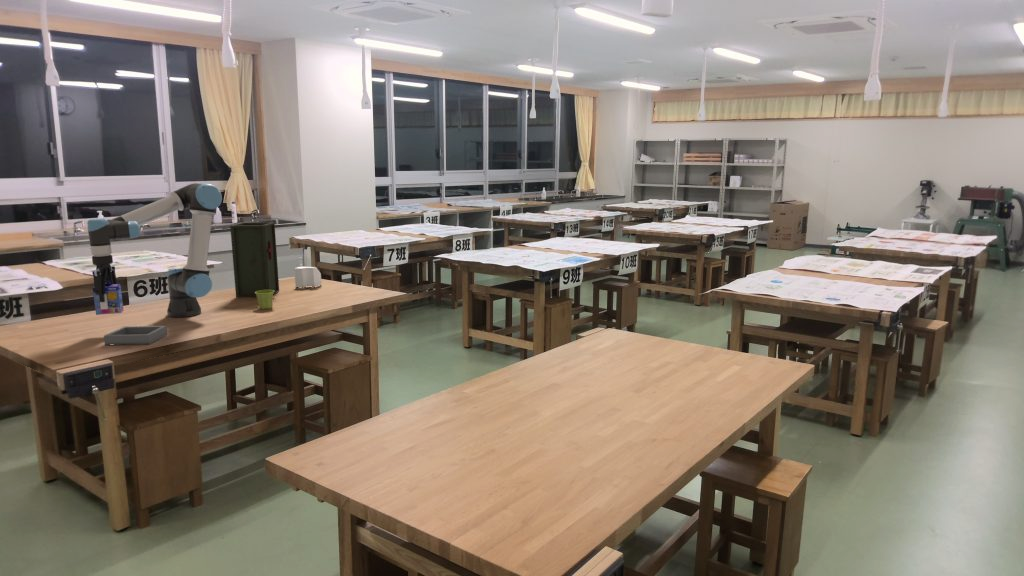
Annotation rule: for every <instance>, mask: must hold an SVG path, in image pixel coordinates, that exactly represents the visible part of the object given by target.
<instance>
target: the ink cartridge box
mask: <svg viewBox="0 0 1024 576" xmlns="http://www.w3.org/2000/svg"><path fill="white" fill-rule="evenodd" d="M106 282H108V284H107V283H106ZM92 293H93V301H94V309H95V315H97V316H99V315H110V314H111V315H115V314H121V313H123V312H124V311H125V309H124V302H123V295H122V287H121V284H120V283H117V284H113V285H111V283H110V281H106V280H105V294H106V296H107V303H108V309H101V306H100V299H99V295H96V294H95V288H94V286H93V287H92Z"/></svg>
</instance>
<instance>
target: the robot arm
mask: <svg viewBox="0 0 1024 576" xmlns="http://www.w3.org/2000/svg"><path fill="white" fill-rule="evenodd" d="M222 196H223V195H222V192H221V191H220V189H219V188H218V187H217V186H215V185H213V184H212V183H211V184H210V183H195V182H194V183H191V184H186V185H185V186H183V187H181V188H178V189H176V190H174V191H172V192H170V194H169V195H168V196H167V195H166V196H165V197H163V198H160V199H158V200H156V201H153V202H151V203H148V204H146V205H144V206H142V207H138V208H136V209H134V210H132V211H129V212H127V213H124V214H122V215H119V216H117V217H115V218H112V219H107V218H93V219H92V218H91V219H88V220H87V223H86V224H87V233H88V239H89V246H90V248H89V249H90V252H91V261H92V265H94V266H95V267H96V268H95V270H93V271H92V273H91V274H92V277H93V285H94V286H93V287H94V288H95V294H96V295H99V299H100V306H101V309H108V303H107V296H106V294H105V284H108V282H105V281H110V283H111V285H113V284H118V281H117V276H116V267H115V265H114V266H113V265H112V264H113V262H114V261H113V260H114V259H113V255H112V253H113V251H112V246H111V241H115V240H126V239H128V240H129V239H130V240H131V239H136V238H138V237H139V236H140V233H141V229H140V227H141V226H144V225H146V224H148V223H151V222H153V221H156V220H158V219H160V218H162V217H165V216H167V215H169V214H172V213H174V212H176V211H184V210H187V209H188V210H189V212H190V213H191V224H190V225H191V226H190V232H189V242H188V250H187V251H188V252H187V258H186V259H187V260H186V261H187V262H186V265H184V266H183V267H180V268H172V269H168V270H167V275H166V276H167V277H166V278H167V284H168V293H169V294H168V295H169V302H168V306H167V310H166V312H167V313H166V314H167V315H168V316H167V317H170V318H186V317H195V316H197V315H201V313H202V307H201V305H200V303H199V302H198V299H197V298H199V299H200V298H203V297H206V296H207V295H208V294H209V293H210V292H211V291H212V288H213V281H212V279H211V277H210V268H208V267H207V264H208V258H209V257H208V255H209V246H210V239H211V231H212V230H211V228H212V221H213V217H214V216H215V215H216V214H217V208H219V206H220V205H221V204H222V201H223V197H222ZM111 265H112V266H111Z"/></svg>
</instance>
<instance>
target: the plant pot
mask: <svg viewBox="0 0 1024 576" xmlns="http://www.w3.org/2000/svg"><path fill="white" fill-rule="evenodd" d="M255 293H256V296H257V297H256V299H257V303H258V306H259V309H261V310H265V309H267V310H268V309H272V308H273V299H274V295H275V294H274V290H260V291H256V292H255ZM273 294H274V295H273Z"/></svg>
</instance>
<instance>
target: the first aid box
mask: <svg viewBox="0 0 1024 576" xmlns="http://www.w3.org/2000/svg"><path fill="white" fill-rule="evenodd" d="M229 228H230V238H231V241H230V242H231V249H232V250H231V252H232V263H233V265H232V266H233V276H234V290H235V298H236V297H246V298H257V296H256V293H255V292H256V291H260V290H274V293H275V294H277V293H278V292H280V282H279V271H278V270H279V268H278V253H277V239H276V224H275V222H240V223H236V224H232V225H229ZM277 291H278V292H277ZM276 292H277V293H276Z"/></svg>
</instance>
